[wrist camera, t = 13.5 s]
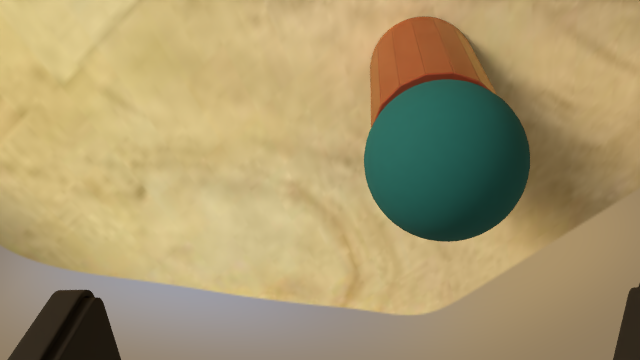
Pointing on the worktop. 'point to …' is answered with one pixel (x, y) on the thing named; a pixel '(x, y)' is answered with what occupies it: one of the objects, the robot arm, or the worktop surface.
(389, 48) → the tumbler
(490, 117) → the ball
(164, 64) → the worktop surface
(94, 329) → the robot arm
